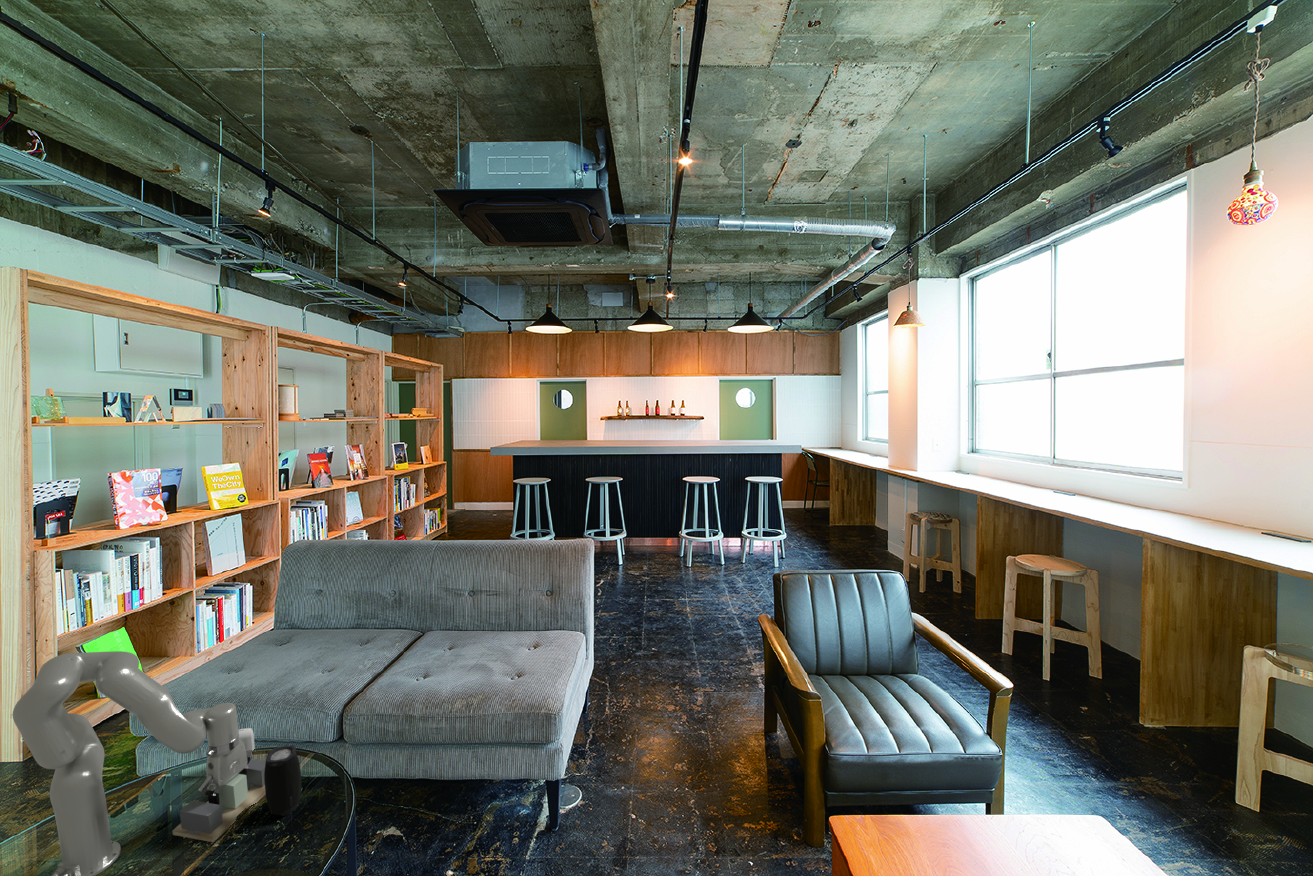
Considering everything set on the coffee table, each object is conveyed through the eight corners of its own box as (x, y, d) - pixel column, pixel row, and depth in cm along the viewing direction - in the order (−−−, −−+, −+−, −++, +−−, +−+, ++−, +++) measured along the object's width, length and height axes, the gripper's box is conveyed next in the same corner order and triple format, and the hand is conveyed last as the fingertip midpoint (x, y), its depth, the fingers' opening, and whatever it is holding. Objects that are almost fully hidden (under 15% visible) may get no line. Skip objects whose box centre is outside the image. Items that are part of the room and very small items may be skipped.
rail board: (213, 842, 159) (211, 820, 158) (172, 834, 161) (170, 812, 160) (280, 780, 183) (279, 760, 182) (244, 774, 185) (243, 754, 184)
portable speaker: (267, 806, 173) (262, 750, 170) (301, 792, 178) (297, 739, 175) (267, 824, 166) (262, 767, 163) (303, 810, 171) (299, 754, 168)
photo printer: (256, 754, 194) (253, 722, 193) (255, 761, 191) (252, 729, 189) (219, 765, 189) (216, 733, 187) (218, 773, 185) (214, 740, 183)
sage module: (235, 808, 169) (233, 786, 168) (210, 804, 170) (208, 782, 169) (248, 797, 173) (246, 775, 172) (223, 793, 175) (221, 771, 173)
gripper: (207, 765, 160) (213, 816, 162) (258, 727, 177) (262, 773, 179) (186, 762, 161) (191, 812, 163) (238, 724, 178) (243, 770, 180)
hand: (228, 792), depth 171 cm, fingers open, 9 cm apart
